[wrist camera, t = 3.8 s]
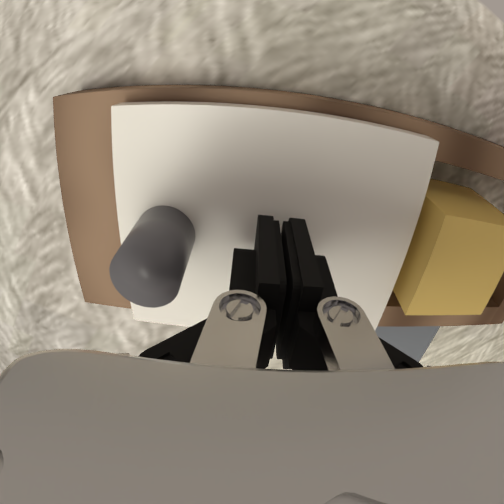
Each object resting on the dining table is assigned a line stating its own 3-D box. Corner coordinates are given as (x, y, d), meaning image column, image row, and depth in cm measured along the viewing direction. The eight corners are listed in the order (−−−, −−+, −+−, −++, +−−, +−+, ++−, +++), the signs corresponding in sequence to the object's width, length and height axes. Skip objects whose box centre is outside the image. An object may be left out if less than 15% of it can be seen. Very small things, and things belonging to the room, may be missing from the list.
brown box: (542, 164, 13) (566, 179, 11) (486, 301, 19) (501, 323, 17) (80, 90, 13) (53, 97, 10) (100, 275, 18) (85, 301, 16)
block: (470, 187, 15) (522, 229, 11) (443, 261, 18) (481, 314, 13) (398, 171, 15) (445, 214, 11) (375, 255, 17) (405, 315, 13)
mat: (446, 306, 19) (449, 310, 19) (404, 377, 24) (406, 380, 23) (344, 303, 19) (345, 307, 19) (315, 380, 23) (316, 384, 23)
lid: (427, 135, 11) (484, 167, 8) (367, 323, 16) (387, 383, 13) (121, 102, 11) (67, 121, 7) (139, 306, 16) (115, 366, 12)
